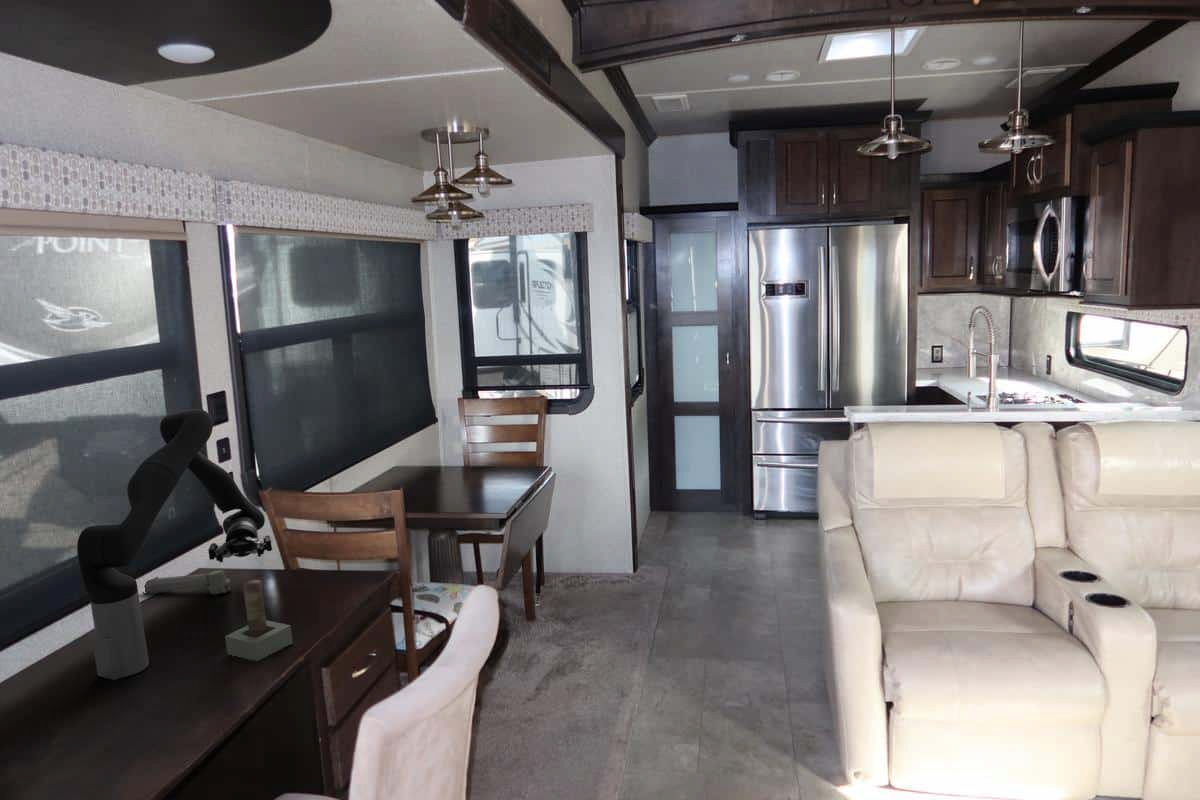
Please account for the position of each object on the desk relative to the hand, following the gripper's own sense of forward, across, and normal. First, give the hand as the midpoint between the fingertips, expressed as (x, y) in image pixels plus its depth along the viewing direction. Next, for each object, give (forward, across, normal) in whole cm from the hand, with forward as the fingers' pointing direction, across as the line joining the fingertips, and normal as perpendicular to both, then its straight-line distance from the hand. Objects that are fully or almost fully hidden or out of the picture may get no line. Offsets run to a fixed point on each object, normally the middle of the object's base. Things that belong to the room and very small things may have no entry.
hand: (239, 555), depth 205 cm
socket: (+12, +3, +19) cm, 23 cm away
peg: (+12, +3, +19) cm, 23 cm away
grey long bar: (-38, -16, +19) cm, 45 cm away
